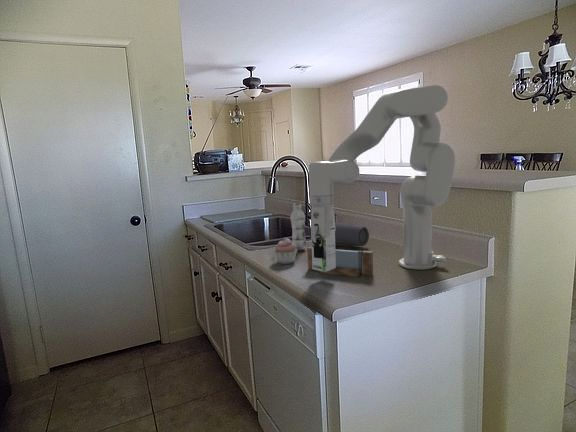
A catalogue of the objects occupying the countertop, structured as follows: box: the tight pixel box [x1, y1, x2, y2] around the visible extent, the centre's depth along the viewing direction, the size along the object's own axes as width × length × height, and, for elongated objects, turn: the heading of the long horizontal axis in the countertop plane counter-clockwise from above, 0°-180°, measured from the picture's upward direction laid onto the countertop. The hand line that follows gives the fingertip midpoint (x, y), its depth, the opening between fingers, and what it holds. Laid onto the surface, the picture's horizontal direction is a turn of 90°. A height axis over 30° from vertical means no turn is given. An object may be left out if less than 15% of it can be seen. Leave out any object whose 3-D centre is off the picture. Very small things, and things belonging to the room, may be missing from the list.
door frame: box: [306, 246, 374, 278], centre depth 130 cm, size 23×4×8 cm, turn 63°
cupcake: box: [273, 236, 299, 265], centre depth 146 cm, size 9×9×10 cm
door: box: [335, 248, 363, 275], centre depth 131 cm, size 14×1×8 cm, turn 63°
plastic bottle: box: [289, 203, 307, 251], centre depth 162 cm, size 6×7×20 cm
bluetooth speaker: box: [335, 222, 370, 248], centre depth 168 cm, size 23×9×10 cm, turn 46°
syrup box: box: [310, 225, 336, 272], centre depth 123 cm, size 6×6×14 cm
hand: (323, 254), depth 123 cm, fingers closed on syrup box, 7 cm apart
